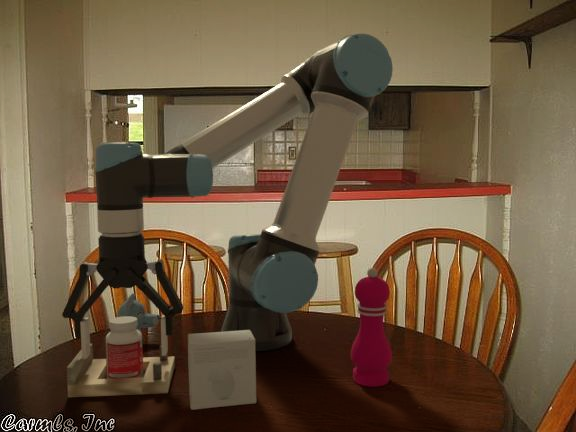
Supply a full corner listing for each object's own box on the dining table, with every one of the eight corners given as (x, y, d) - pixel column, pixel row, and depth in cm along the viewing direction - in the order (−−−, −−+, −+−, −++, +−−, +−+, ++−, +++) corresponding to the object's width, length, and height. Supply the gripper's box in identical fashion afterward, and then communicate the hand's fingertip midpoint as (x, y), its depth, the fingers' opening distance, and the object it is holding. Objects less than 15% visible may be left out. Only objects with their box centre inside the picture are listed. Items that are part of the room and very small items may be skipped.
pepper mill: (394, 375, 100) (396, 265, 98) (388, 390, 93) (390, 273, 92) (355, 370, 103) (356, 263, 101) (346, 385, 96) (347, 270, 94)
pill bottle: (148, 383, 97) (146, 321, 96) (112, 391, 93) (110, 326, 92) (136, 371, 102) (135, 312, 101) (102, 379, 98) (100, 318, 97)
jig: (174, 366, 104) (174, 340, 104) (167, 393, 92) (167, 363, 92) (86, 370, 103) (85, 343, 102) (68, 397, 91) (66, 367, 90)
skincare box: (250, 388, 95) (250, 327, 94) (256, 404, 88) (256, 339, 87) (188, 393, 92) (187, 332, 91) (190, 410, 86) (188, 344, 85)
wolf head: (159, 344, 117) (158, 298, 116) (115, 346, 115) (114, 299, 115) (161, 335, 123) (160, 291, 122) (120, 337, 122) (118, 292, 121)
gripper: (196, 229, 100) (198, 344, 102) (52, 232, 97) (58, 350, 100) (193, 234, 93) (196, 359, 95) (38, 238, 90) (45, 365, 92)
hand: (125, 354), depth 97 cm, fingers open, 13 cm apart
